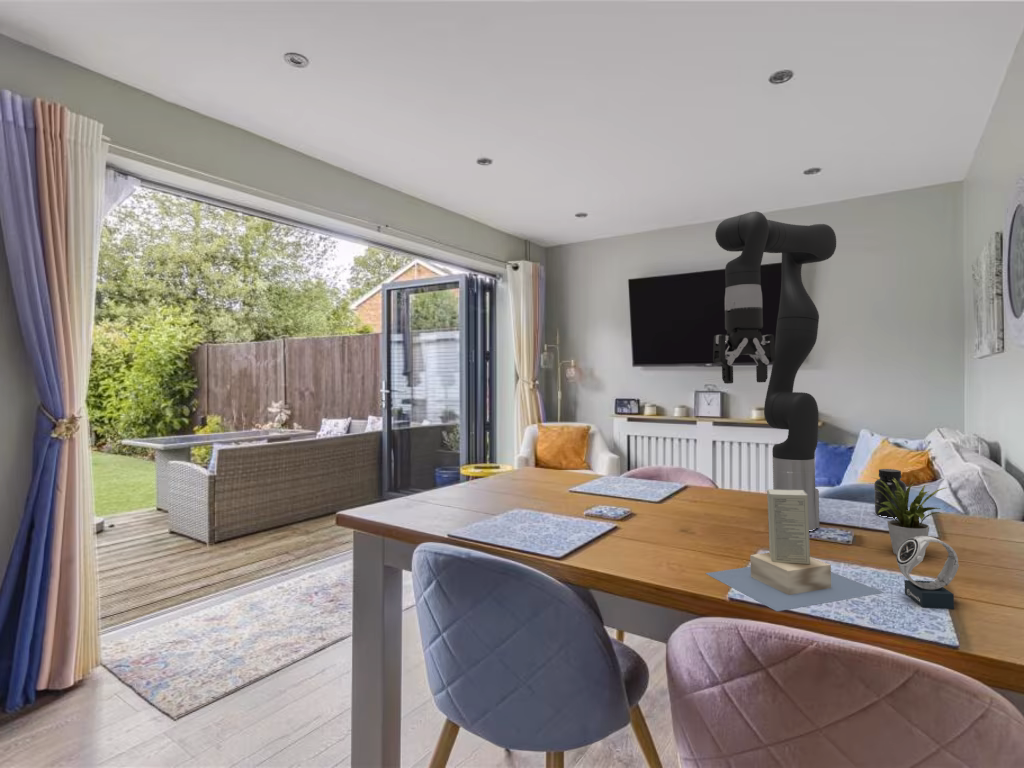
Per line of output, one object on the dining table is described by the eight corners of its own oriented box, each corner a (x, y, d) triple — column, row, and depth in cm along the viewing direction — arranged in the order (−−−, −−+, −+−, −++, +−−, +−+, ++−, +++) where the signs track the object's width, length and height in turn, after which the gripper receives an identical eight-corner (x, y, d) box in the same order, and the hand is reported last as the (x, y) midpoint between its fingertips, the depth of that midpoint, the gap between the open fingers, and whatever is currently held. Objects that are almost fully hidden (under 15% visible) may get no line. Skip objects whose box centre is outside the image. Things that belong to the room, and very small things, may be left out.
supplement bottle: (870, 512, 148) (869, 468, 148) (898, 513, 146) (898, 468, 146) (882, 518, 141) (881, 472, 141) (912, 519, 140) (911, 472, 140)
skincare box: (806, 557, 99) (804, 489, 98) (810, 565, 94) (809, 494, 94) (767, 554, 101) (766, 488, 101) (770, 562, 96) (769, 493, 96)
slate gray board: (799, 563, 109) (799, 559, 109) (884, 597, 92) (884, 592, 92) (705, 577, 103) (705, 573, 103) (777, 616, 86) (777, 611, 86)
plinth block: (790, 570, 103) (790, 549, 103) (831, 587, 95) (830, 564, 95) (750, 576, 101) (750, 555, 101) (788, 594, 92) (788, 571, 92)
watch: (891, 598, 92) (890, 532, 92) (946, 600, 90) (945, 533, 90) (908, 612, 86) (907, 542, 86) (967, 615, 85) (966, 543, 85)
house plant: (845, 548, 118) (843, 472, 118) (886, 539, 124) (885, 467, 124) (916, 568, 105) (914, 483, 105) (959, 557, 110) (958, 476, 110)
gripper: (758, 310, 124) (759, 382, 124) (704, 309, 120) (706, 383, 120) (783, 306, 117) (785, 382, 117) (727, 305, 113) (728, 383, 113)
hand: (745, 382), depth 119 cm, fingers open, 8 cm apart
